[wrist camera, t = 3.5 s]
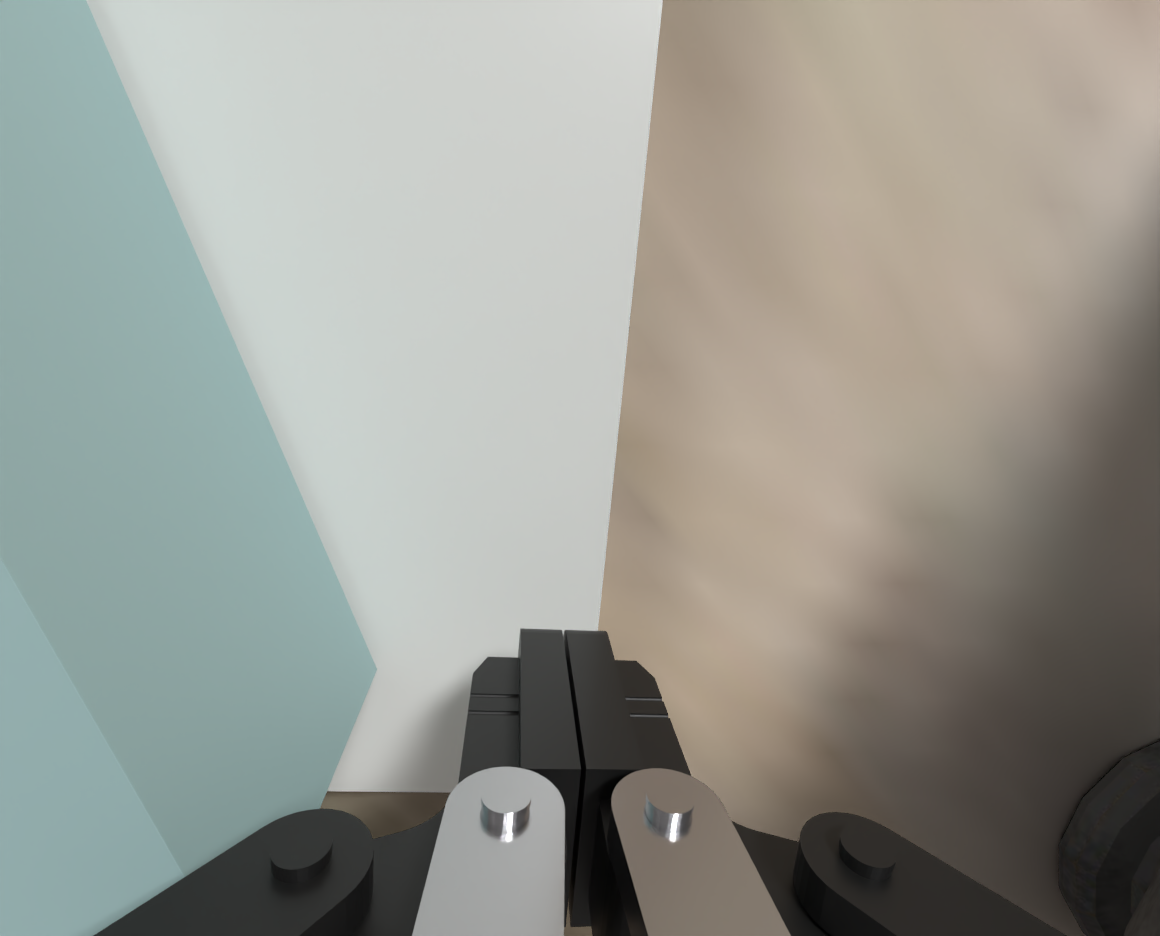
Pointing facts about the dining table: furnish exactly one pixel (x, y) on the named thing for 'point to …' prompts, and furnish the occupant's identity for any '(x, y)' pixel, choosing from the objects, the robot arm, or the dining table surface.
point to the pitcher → (1116, 851)
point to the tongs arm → (137, 524)
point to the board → (419, 301)
